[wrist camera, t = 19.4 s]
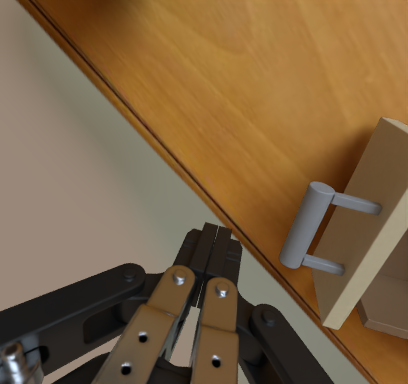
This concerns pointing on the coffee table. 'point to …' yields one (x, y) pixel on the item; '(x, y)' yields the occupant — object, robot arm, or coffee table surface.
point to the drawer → (360, 238)
